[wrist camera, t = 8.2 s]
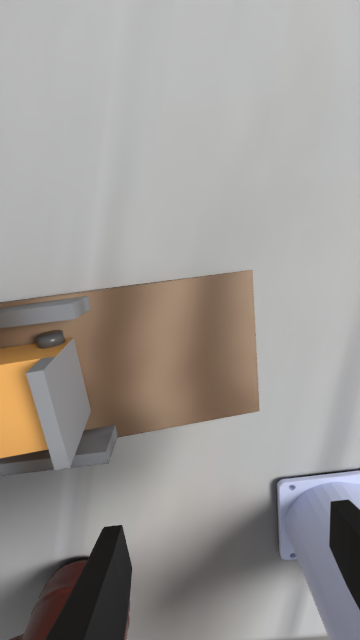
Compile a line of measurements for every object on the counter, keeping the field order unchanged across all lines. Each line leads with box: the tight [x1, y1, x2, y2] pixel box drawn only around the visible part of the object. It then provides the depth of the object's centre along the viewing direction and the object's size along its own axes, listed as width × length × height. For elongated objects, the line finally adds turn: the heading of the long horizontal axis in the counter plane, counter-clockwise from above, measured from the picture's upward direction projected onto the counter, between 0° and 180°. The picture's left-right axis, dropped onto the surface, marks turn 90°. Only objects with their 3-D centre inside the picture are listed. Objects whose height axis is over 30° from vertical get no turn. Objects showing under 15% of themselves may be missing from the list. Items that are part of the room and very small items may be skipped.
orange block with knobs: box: [0, 330, 91, 470], centre depth 14 cm, size 6×6×5 cm
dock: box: [0, 270, 259, 476], centre depth 16 cm, size 19×10×5 cm, turn 97°
